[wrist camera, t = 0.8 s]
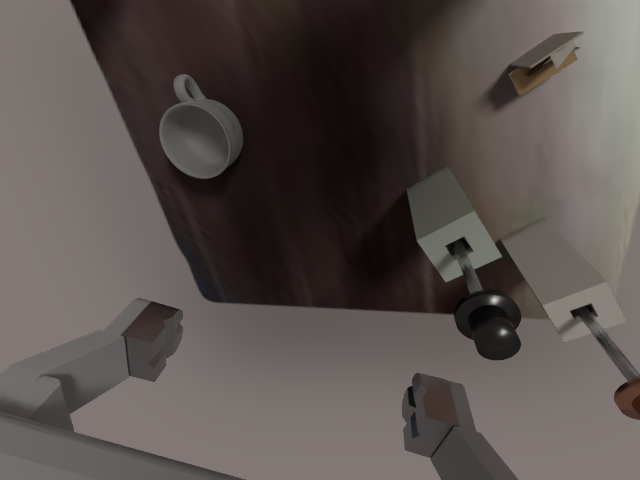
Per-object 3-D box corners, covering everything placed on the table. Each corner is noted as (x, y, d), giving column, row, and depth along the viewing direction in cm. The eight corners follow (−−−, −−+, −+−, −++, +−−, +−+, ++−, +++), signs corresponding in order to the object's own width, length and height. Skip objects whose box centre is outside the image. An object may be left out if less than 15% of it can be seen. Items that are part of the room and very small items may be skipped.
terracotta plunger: (585, 273, 42) (708, 407, 26) (600, 302, 44) (724, 444, 28) (541, 291, 44) (632, 424, 29) (557, 317, 46) (650, 457, 30)
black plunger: (463, 208, 40) (518, 310, 25) (483, 240, 42) (546, 355, 26) (424, 229, 43) (451, 336, 27) (444, 259, 44) (481, 376, 28)
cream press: (543, 217, 53) (606, 281, 39) (560, 249, 56) (626, 321, 41) (499, 238, 56) (542, 305, 42) (517, 268, 58) (564, 342, 44)
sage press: (447, 164, 52) (474, 210, 37) (468, 200, 54) (502, 256, 39) (406, 189, 54) (416, 240, 40) (428, 221, 57) (445, 282, 42)
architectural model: (564, 57, 43) (596, 58, 37) (510, 92, 46) (531, 99, 40) (554, 32, 42) (585, 29, 36) (499, 70, 45) (518, 74, 39)
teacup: (251, 166, 57) (233, 183, 50) (190, 161, 58) (164, 176, 51) (245, 74, 50) (224, 78, 43) (176, 70, 51) (144, 73, 44)
